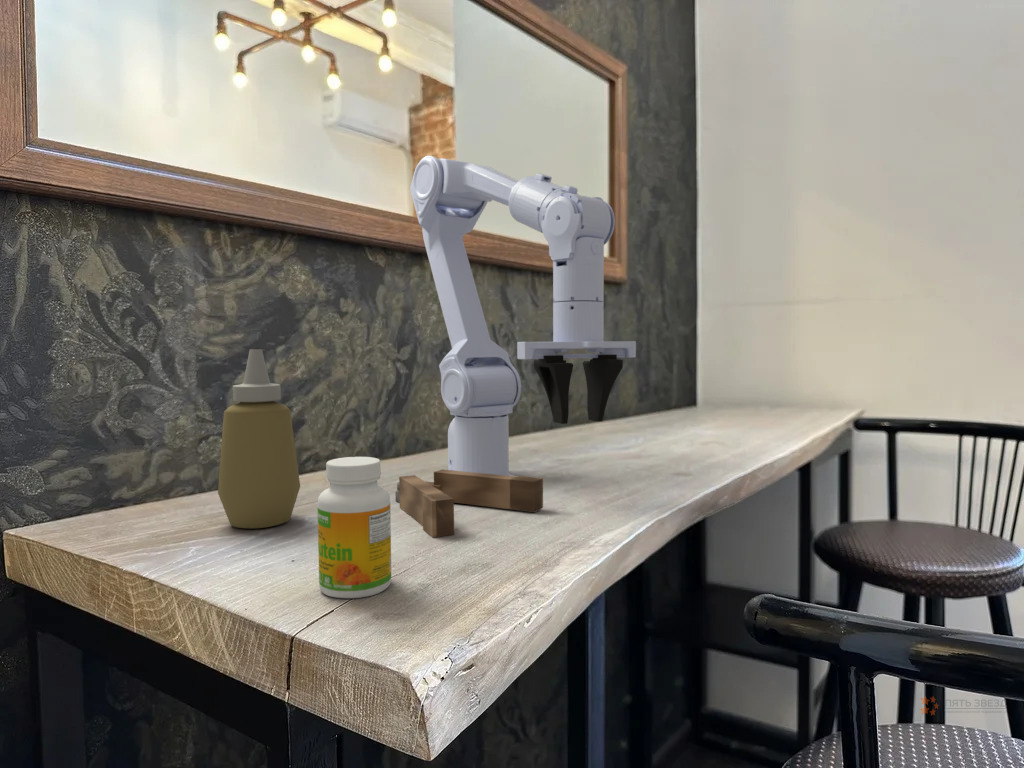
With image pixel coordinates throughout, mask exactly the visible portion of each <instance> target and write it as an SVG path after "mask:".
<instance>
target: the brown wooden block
mask: <svg viewBox="0 0 1024 768" xmlns="http://www.w3.org/2000/svg"><path fill="white" fill-rule="evenodd" d="M398 480H399V481H398V482H399V491H398V490H397V489H396V491H395V493H394V494H395V502H396V503H398V504H399V508H400V509H401V510H403V511H404V512H405V513H406V514H408V515H409V516H410V517H411V518H412V519H414V520H415V521H416V522H417V523H418V524H420V525H421V526H422V530H423V532H425V533H426V534H428V535H429V536H430V537H431V538H438V537H445V536H452V535H453V536H454V535H455V502H454V499H453V498H452V497H450V496H448V495H447V494H445V493H443V492H442V491H440V490H438V489H437V488H435V487H433V486H432V485H430V484H428V483H427V482H428V481H427V482H425V481H424V480H423V479H422V478H420V477H418V476H417V475H415V474H413V475H404V476H399V477H398Z"/></svg>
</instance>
